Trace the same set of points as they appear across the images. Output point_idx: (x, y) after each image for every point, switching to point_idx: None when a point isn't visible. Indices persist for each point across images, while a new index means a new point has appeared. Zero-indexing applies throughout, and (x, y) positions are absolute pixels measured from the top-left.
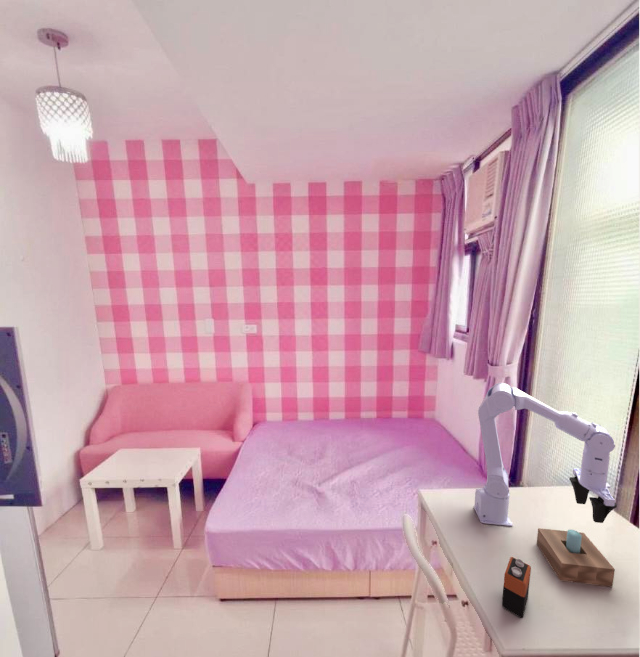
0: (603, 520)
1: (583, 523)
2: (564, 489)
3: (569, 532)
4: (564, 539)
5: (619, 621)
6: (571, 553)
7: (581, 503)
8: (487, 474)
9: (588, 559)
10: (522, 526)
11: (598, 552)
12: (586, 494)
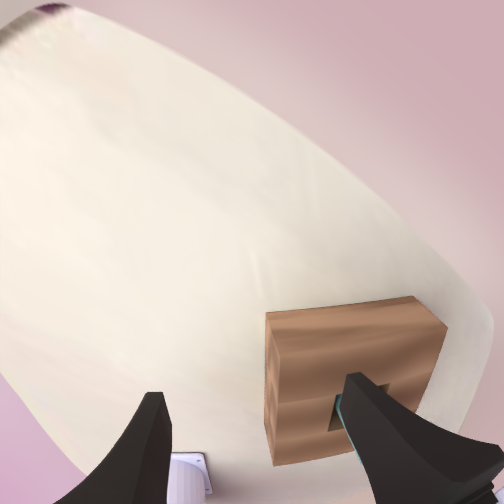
0: (373, 385)
1: (93, 227)
2: None
3: None
4: (324, 423)
5: (471, 324)
6: None
7: (166, 411)
8: None
9: (407, 384)
10: (191, 434)
11: (388, 348)
12: (146, 454)
